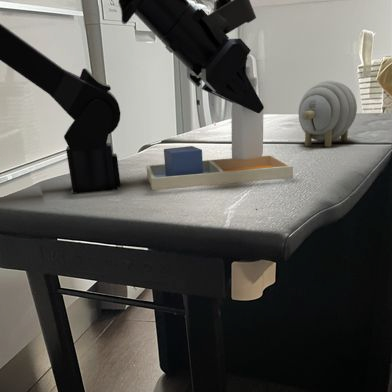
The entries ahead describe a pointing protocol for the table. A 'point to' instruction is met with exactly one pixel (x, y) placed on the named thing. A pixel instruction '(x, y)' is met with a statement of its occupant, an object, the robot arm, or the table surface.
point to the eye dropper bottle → (247, 129)
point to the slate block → (183, 161)
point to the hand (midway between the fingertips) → (256, 109)
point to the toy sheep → (327, 112)
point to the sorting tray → (222, 173)
